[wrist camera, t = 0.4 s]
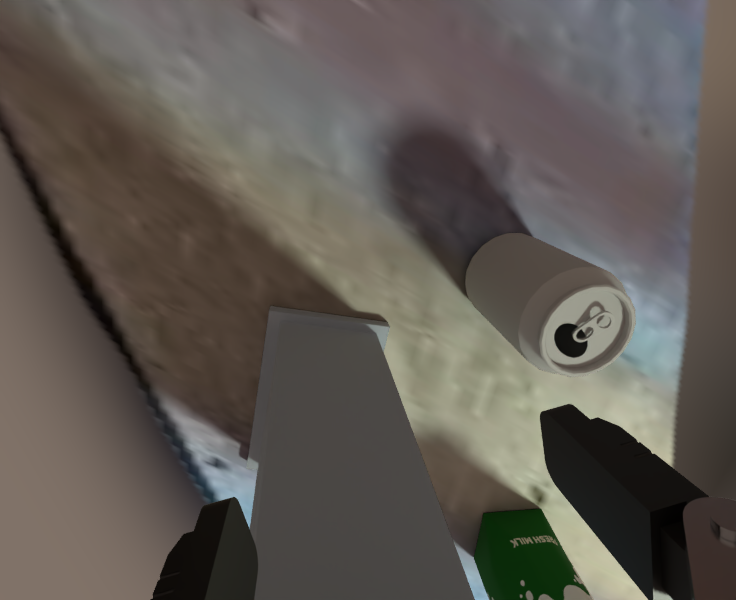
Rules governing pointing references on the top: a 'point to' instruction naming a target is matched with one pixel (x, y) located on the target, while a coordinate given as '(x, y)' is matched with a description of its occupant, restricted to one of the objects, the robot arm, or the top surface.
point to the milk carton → (525, 559)
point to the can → (551, 304)
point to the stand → (341, 472)
